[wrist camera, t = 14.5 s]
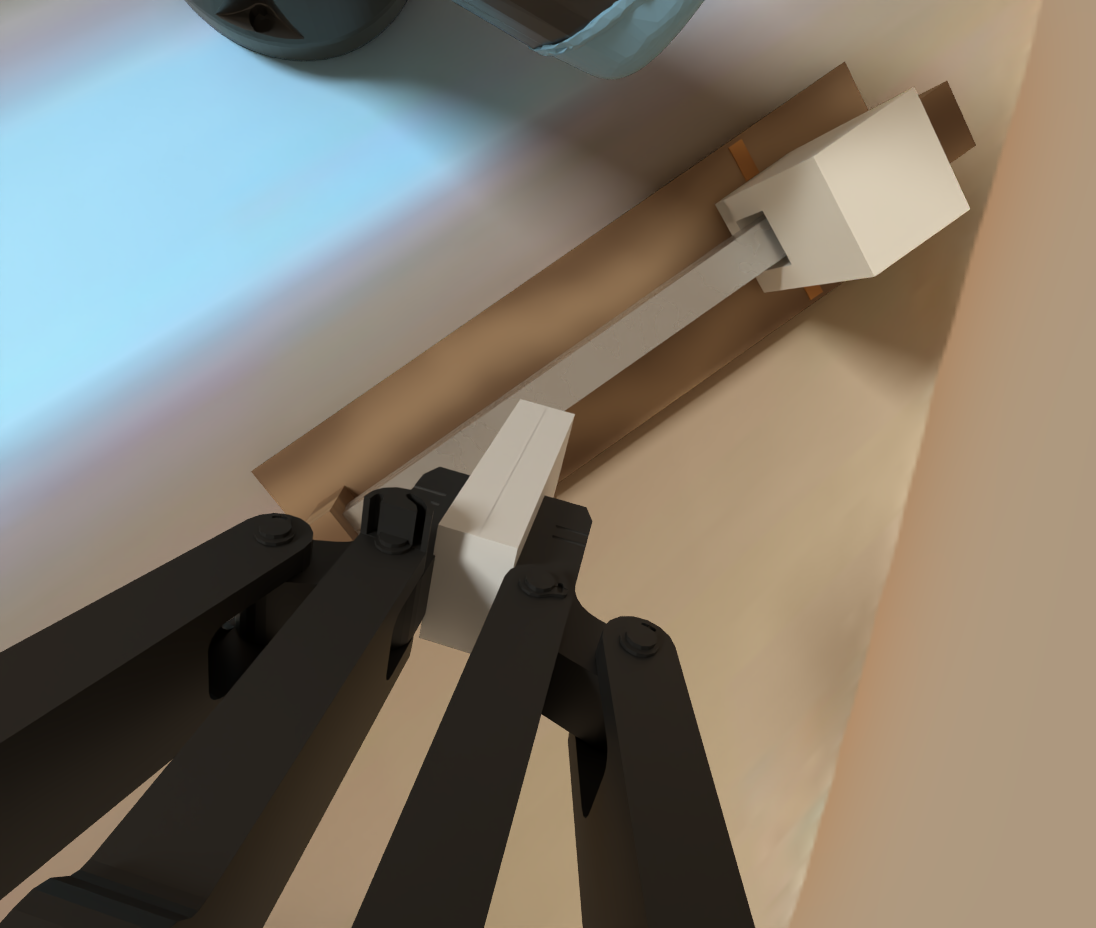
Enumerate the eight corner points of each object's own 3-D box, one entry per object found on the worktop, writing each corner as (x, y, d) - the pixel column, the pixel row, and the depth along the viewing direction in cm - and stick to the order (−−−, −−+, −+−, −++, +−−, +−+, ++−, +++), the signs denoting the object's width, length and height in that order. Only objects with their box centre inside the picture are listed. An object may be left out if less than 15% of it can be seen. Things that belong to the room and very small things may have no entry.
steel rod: (331, 510, 42) (324, 522, 39) (886, 123, 43) (918, 108, 40) (361, 547, 42) (356, 561, 40) (906, 165, 44) (938, 153, 41)
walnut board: (255, 468, 44) (218, 495, 36) (834, 68, 46) (916, 12, 38) (371, 609, 47) (359, 662, 39) (911, 228, 48) (1003, 206, 41)
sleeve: (714, 204, 44) (813, 156, 33) (790, 151, 44) (914, 86, 33) (764, 292, 46) (874, 276, 34) (836, 241, 46) (970, 209, 35)
